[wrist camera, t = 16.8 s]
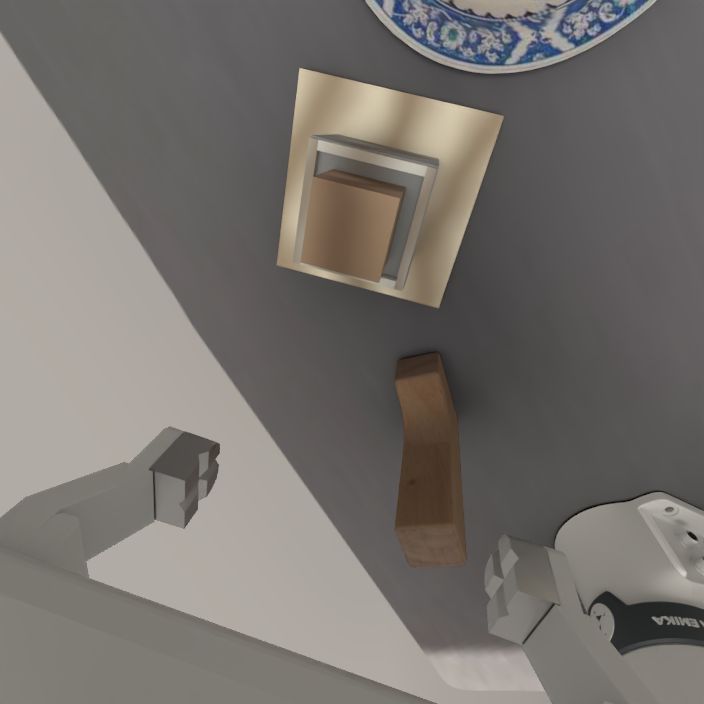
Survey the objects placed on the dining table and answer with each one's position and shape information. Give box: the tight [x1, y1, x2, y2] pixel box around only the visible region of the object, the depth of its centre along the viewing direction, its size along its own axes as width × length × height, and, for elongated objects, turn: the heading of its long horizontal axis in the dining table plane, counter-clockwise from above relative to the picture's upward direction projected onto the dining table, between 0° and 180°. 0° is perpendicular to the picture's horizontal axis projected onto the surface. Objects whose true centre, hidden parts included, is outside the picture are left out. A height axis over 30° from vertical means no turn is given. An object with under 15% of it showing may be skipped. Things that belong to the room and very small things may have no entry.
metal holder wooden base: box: [277, 68, 504, 308], centre depth 32 cm, size 16×16×10 cm
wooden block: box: [394, 352, 467, 568], centre depth 37 cm, size 9×4×18 cm, turn 19°
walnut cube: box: [300, 169, 406, 283], centre depth 26 cm, size 5×5×5 cm
